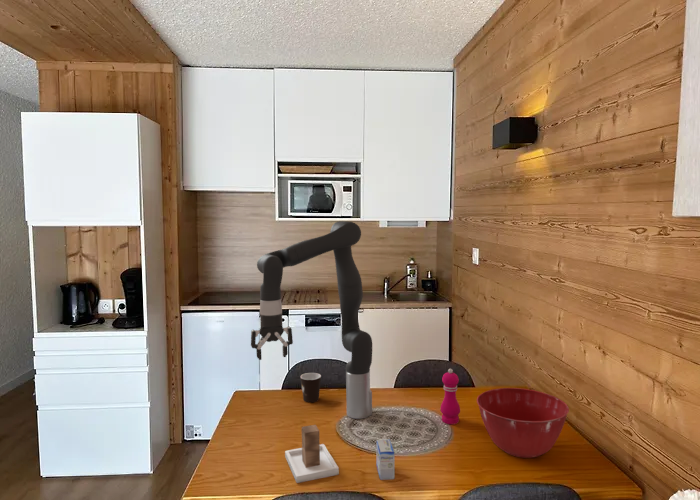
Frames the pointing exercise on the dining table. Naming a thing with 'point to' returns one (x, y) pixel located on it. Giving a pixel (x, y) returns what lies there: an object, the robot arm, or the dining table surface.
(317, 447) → the brown wooden block
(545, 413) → the mixing bowl
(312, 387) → the coffee mug
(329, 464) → the tray
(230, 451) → the dining table surface
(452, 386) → the pepper mill
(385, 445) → the medicine box
